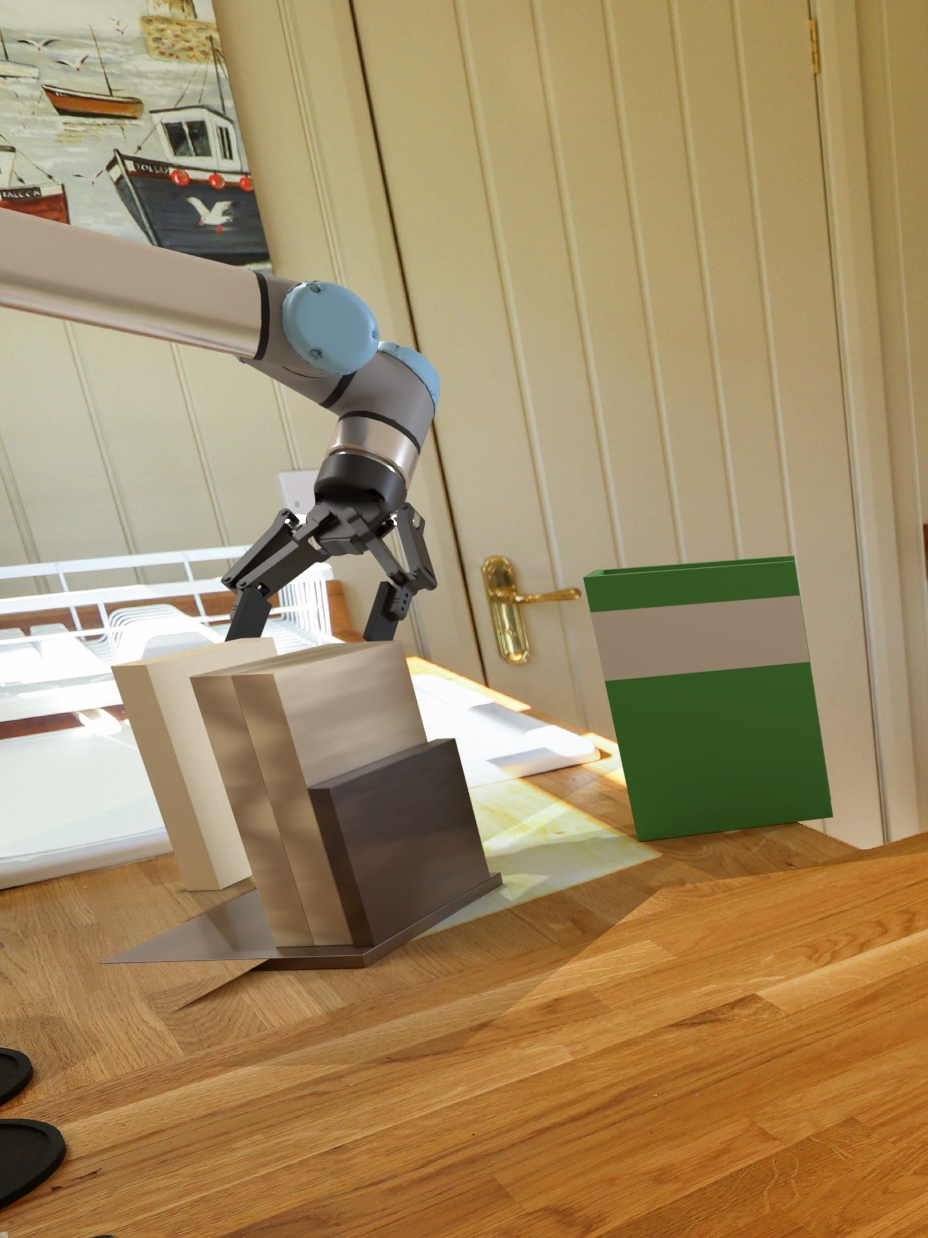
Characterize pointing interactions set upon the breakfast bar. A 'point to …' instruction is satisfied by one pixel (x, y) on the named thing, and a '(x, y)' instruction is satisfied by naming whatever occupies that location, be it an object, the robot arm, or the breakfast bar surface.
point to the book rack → (331, 813)
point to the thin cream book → (188, 757)
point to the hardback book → (711, 694)
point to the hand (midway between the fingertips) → (306, 649)
